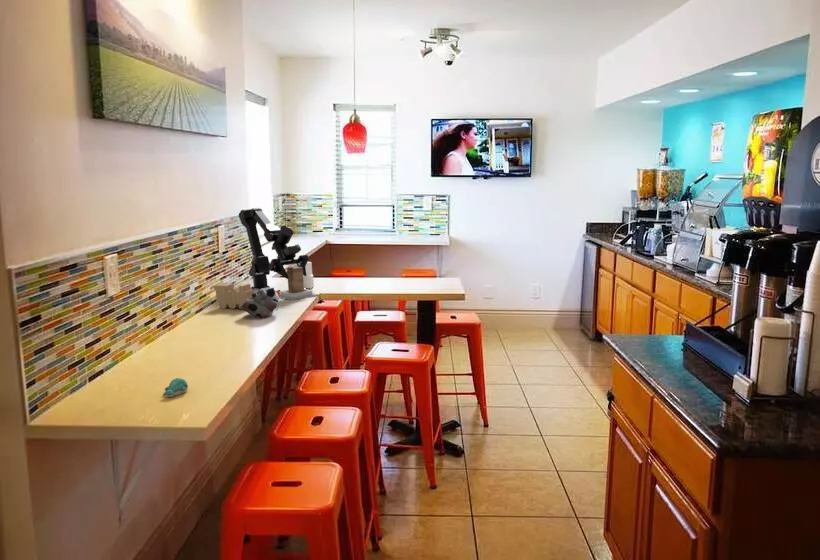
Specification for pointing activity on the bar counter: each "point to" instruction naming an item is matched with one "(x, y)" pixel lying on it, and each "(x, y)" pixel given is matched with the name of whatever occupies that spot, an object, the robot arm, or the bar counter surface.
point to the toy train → (232, 294)
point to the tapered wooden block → (295, 279)
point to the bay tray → (297, 294)
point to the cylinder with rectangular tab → (308, 276)
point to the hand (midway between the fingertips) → (297, 277)
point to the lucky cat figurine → (262, 303)
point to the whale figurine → (176, 387)
